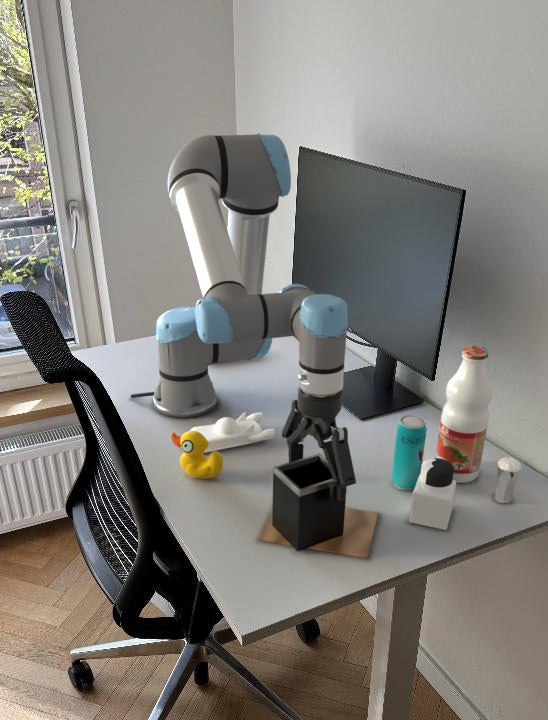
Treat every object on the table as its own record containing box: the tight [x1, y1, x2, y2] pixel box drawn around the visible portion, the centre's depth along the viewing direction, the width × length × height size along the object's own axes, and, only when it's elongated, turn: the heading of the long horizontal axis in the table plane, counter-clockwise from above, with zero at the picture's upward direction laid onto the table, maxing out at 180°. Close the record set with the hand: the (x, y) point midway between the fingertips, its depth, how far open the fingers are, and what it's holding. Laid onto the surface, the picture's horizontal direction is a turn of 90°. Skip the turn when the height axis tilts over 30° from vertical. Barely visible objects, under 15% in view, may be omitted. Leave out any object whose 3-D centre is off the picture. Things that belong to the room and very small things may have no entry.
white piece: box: [189, 411, 276, 454], centre depth 168 cm, size 10×20×6 cm, turn 111°
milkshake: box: [494, 456, 528, 504], centre depth 149 cm, size 4×5×10 cm
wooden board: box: [258, 507, 379, 559], centre depth 142 cm, size 20×14×1 cm
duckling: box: [170, 430, 224, 480], centre depth 154 cm, size 11×5×10 cm, turn 68°
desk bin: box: [271, 452, 347, 552], centre depth 137 cm, size 13×9×10 cm
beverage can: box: [391, 414, 428, 492], centre depth 152 cm, size 6×6×15 cm
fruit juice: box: [434, 345, 494, 484], centre depth 153 cm, size 9×9×28 cm
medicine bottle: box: [408, 457, 457, 531], centre depth 143 cm, size 7×7×12 cm
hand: (314, 493), depth 137 cm, fingers open, 13 cm apart
